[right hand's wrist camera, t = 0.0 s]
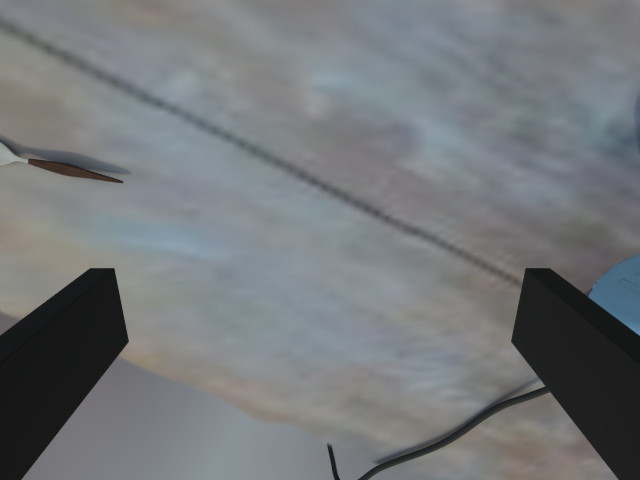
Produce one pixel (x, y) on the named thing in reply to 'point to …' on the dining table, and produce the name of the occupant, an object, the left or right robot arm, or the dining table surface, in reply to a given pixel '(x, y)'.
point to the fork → (52, 166)
